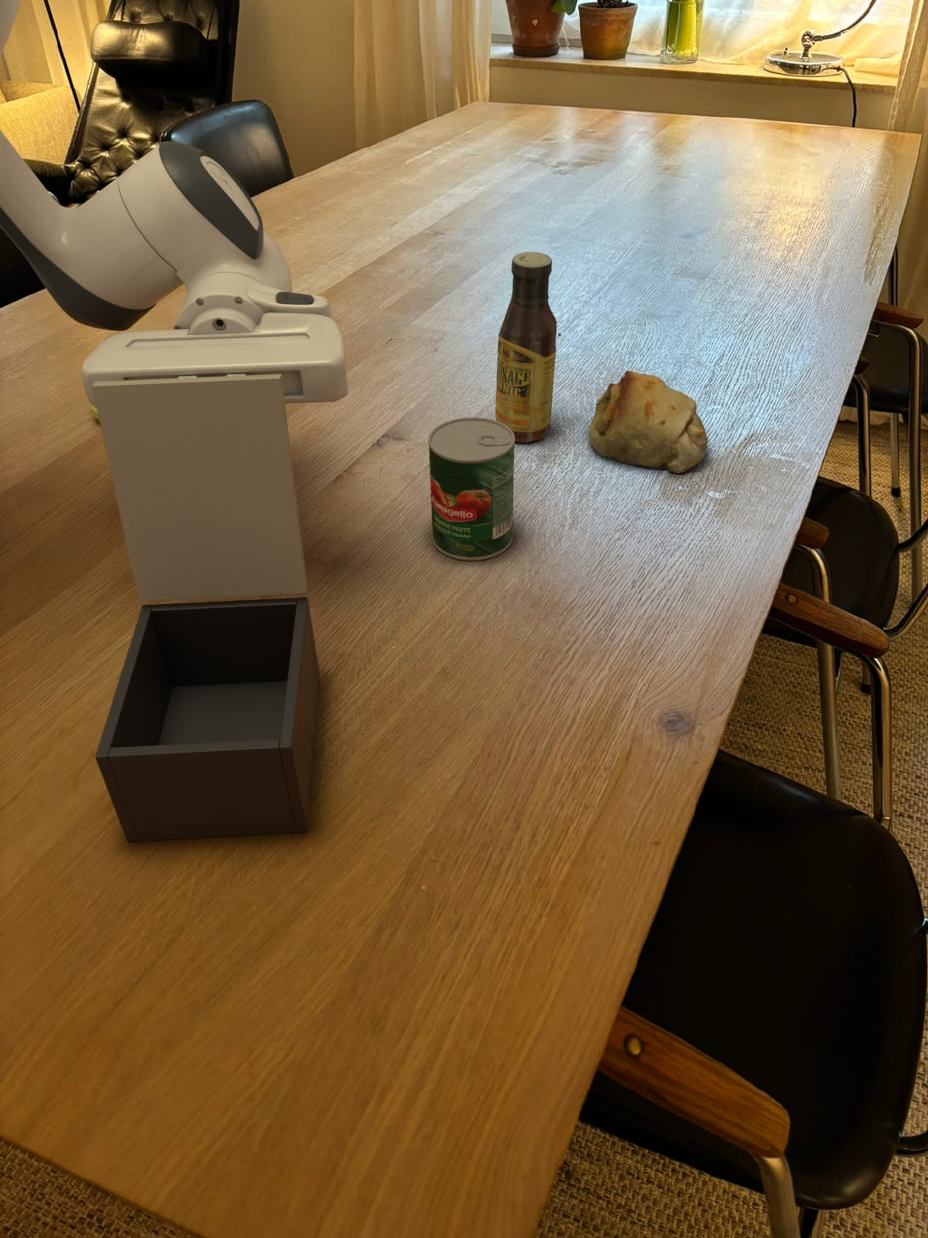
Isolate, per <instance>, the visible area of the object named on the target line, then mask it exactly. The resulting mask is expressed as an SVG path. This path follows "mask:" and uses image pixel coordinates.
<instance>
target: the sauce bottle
mask: <svg viewBox="0 0 928 1238" xmlns="http://www.w3.org/2000/svg"><path fill="white" fill-rule="evenodd" d="M510 270H511V274H512V287H511V288H512V290H511V295H510V296H511V298H510V301H509V304H508V307H507V309H506V312H505V315H504V318H503V320H502V324H501V327H500V329H499V332H498V337H497V359H496V360H497V362H496V387H495V388H496V389H495V409H494V410H495V411H494V416H495V420H496V421H499V422H501V423H503V424H505V425H506V426H508V427H509V428H510V429H511V430H512V431H513V433H514V435H515V443H518V444H519V443H520V444H527V443H530V442H535V441H539V440H540V439H542V438H544V437H545V436H546V435H547V434H548V432H549V430H550V423H551V420H552V410H553V409H552V408H553V395H554V381H555V380H554V379H555V370H556V355H557V345H556V344H557V343H556V342H557V334H558V322H557V321H558V320H557V319H556V316H555V315H554V312H553V310H552V309H551V306H550V304H549V299H550V296H549V285H550V276H551V275H552V270H553V260H552V257H550V256H549V255H548V254H545V253H543V252H539V251H523V252H519V253H517V254H515V255H514V256H513V257H512V259H511V269H510Z"/></svg>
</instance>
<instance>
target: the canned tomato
mask: <svg viewBox="0 0 928 1238" xmlns="http://www.w3.org/2000/svg"><path fill="white" fill-rule="evenodd" d="M515 443H516V441H515V435H514V433H513V431H512V430H511V429H510V428H509V427H508V426H506V425H505V424H503V423H501V422H499V421H496V419H492V418H486V417H479V416H472V417H471V416H467V417H458V418H454V419H450V420H447V421H445V422H442V423H441V424H439V425H436V427H435V428H433V429H432V430H431V432H430V433H429V435H428V438H427V445H428V460H429V482H430V483H429V484H430V505H431V508H430V510H431V511H430V512H431V528H432V529H431V530H432V533H431V540H432V543H433V545H434V547H435V548H436V550H437V551H439V552H440V553H441V554H443V555H445V556H446V557H449V558H451V559H455V560H458V561H466V562H477V561H484V560H485V561H486V560H488V559H492V558H495V557H496V556H499V555H501V554H503V553H504V552H505V551H507V550H508V548H509V547H510V546H511V544H512V543H513V539H514V533H513V526H514V524H513V523H514V489H515V484H514V481H515V477H514V475H515Z"/></svg>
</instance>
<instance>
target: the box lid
mask: <svg viewBox="0 0 928 1238" xmlns="http://www.w3.org/2000/svg"><path fill="white" fill-rule="evenodd" d="M92 389H93V393H94V398H95V402H96V407H97V412H98V416H99V420H98V421H99V425H100V430H101V435H102V438H103V443H104V446H105V447H104V448H105V452H106V453H105V454H106V456H107V461H108V466H109V470H110V471H109V472H110V474H111V479H112V480H111V481H112V484H113V488H114V494H115V497H116V502H117V507H118V512H119V516H120V520H121V525H122V529H123V534H124V539H125V543H126V548H127V552H128V557H129V562H130V566H131V572H132V575H133V580H134V585H135V589H136V595H137V598H138V602H140V603H141V602H160V601H162V602H163V601H177V600H178V601H182V600H183V601H184V600H203V599H222V598H223V599H224V598H242V597H244V598H245V597H247V598H248V597H263V596H265V597H266V596H267V597H269V596H283V595H284V596H288V595H289V596H290V595H306V594H307V591H308V582H307V581H308V580H307V574H306V566H305V565H306V564H305V557H304V556H305V555H304V548H303V541H302V532H301V525H300V524H301V523H300V517H299V508H298V499H297V490H296V484H295V483H296V482H295V474H294V466H293V460H292V450H291V442H290V434H289V425H288V418H287V410H286V409H287V408H286V404H285V400H284V392H283V384H282V375H281V374H270V375H247V376H223V377H199V378H175V379H151V380H127V381H103V382H95V383H94V384H93V385H92Z"/></svg>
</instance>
